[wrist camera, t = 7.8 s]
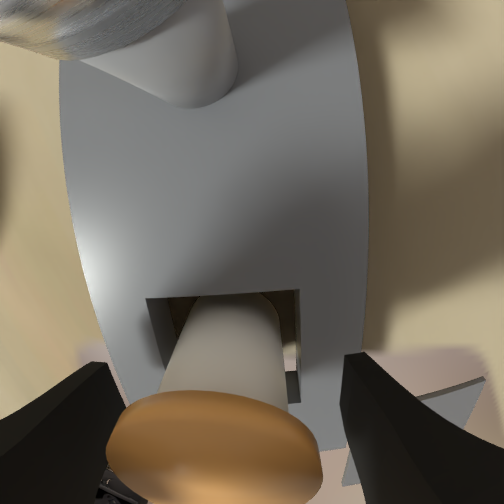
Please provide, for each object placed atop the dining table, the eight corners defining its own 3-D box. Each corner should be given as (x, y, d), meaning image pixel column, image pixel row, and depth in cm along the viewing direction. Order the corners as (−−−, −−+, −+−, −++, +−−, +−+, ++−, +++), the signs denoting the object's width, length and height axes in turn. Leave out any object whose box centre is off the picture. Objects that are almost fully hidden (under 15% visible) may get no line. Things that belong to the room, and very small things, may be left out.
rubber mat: (482, 376, 13) (486, 380, 12) (444, 455, 15) (446, 458, 15) (358, 408, 13) (360, 414, 13) (341, 482, 16) (342, 486, 15)
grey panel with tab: (319, -35, 7) (365, -162, 1) (338, 418, 13) (366, 542, 7) (91, 2, 8) (-21, -69, 1) (162, 424, 14) (127, 539, 7)
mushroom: (293, 265, 11) (332, 414, 4) (296, 370, 13) (315, 517, 6) (162, 274, 11) (70, 406, 5) (186, 374, 13) (146, 512, 6)
